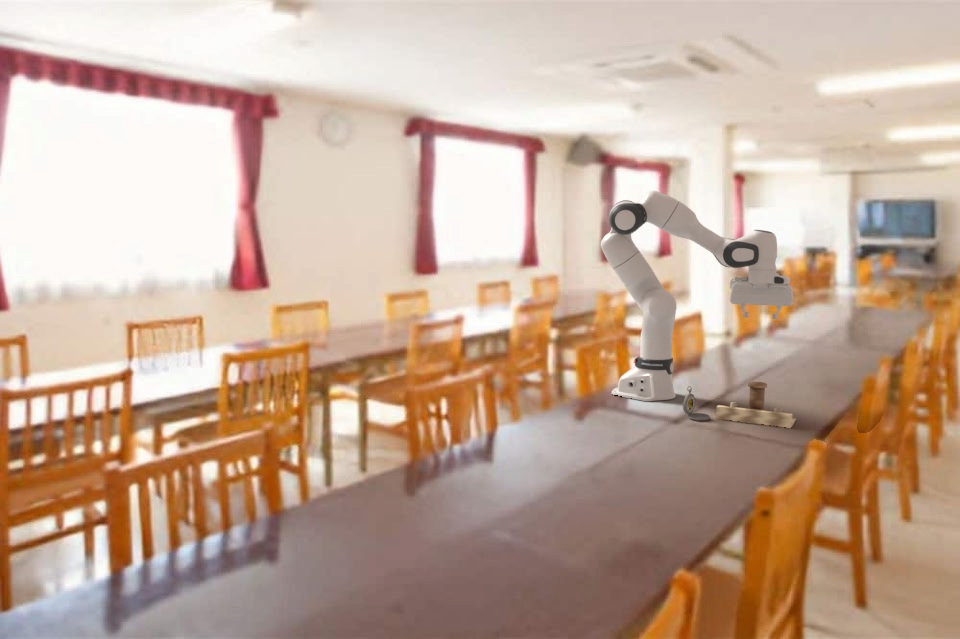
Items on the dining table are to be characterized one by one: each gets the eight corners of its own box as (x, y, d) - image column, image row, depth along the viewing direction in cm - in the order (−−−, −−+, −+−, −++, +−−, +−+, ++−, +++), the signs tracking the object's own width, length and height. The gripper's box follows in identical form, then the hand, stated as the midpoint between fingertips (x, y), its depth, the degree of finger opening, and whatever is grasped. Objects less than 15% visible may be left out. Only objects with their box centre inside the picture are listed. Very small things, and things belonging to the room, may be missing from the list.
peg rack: (716, 418, 224) (716, 403, 223) (723, 411, 233) (723, 396, 232) (791, 428, 213) (791, 412, 212) (795, 420, 221) (796, 404, 221)
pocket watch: (711, 422, 221) (712, 390, 219) (683, 420, 222) (684, 389, 221) (708, 415, 228) (709, 385, 227) (681, 414, 230) (682, 384, 229)
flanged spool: (742, 418, 222) (743, 384, 221) (746, 412, 228) (747, 380, 227) (765, 421, 219) (767, 387, 217) (769, 415, 225) (771, 382, 223)
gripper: (728, 277, 243) (726, 317, 245) (792, 279, 232) (790, 321, 234) (732, 276, 248) (730, 315, 250) (795, 278, 238) (793, 318, 240)
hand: (760, 318), depth 242 cm, fingers open, 8 cm apart
